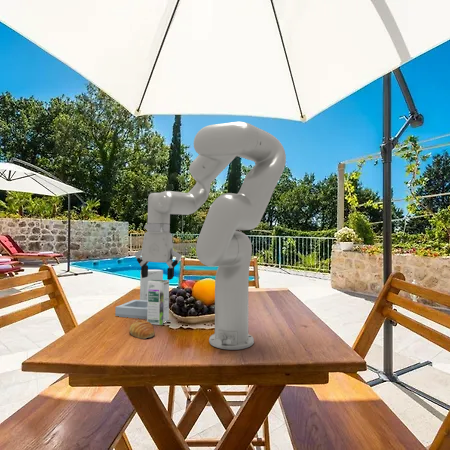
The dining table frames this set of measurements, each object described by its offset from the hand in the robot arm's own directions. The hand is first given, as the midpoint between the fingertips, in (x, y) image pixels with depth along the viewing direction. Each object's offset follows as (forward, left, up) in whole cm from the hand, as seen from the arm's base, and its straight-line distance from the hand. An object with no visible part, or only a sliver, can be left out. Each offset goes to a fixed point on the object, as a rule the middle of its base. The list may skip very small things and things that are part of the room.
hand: (157, 278), depth 110 cm
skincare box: (+23, +14, -15) cm, 31 cm away
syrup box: (0, -1, -15) cm, 15 cm away
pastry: (-13, -2, -16) cm, 20 cm away
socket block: (+9, +11, -15) cm, 21 cm away
